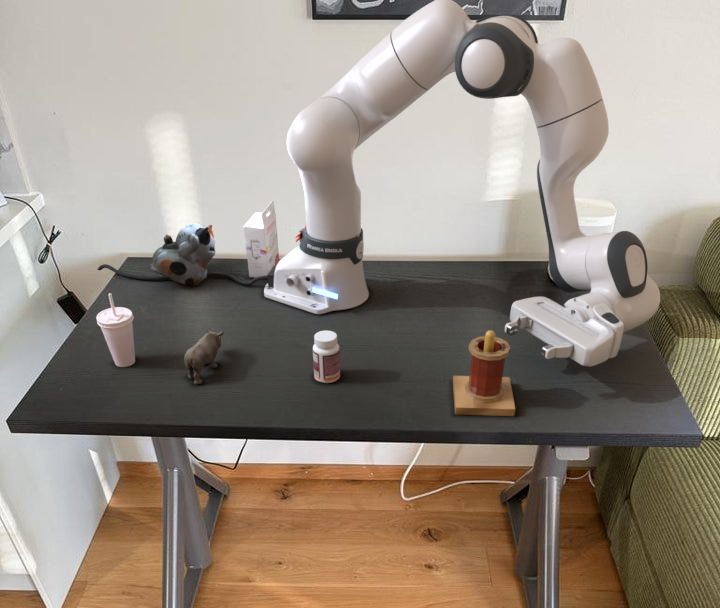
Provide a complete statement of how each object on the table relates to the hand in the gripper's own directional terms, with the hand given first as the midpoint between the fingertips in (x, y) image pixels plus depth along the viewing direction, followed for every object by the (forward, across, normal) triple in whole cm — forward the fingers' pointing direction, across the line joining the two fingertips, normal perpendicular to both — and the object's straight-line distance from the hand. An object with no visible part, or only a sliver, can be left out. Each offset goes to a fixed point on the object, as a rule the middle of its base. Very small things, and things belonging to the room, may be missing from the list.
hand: (525, 341), depth 130 cm
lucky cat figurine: (+33, -74, +9) cm, 82 cm away
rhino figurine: (+44, -36, +9) cm, 58 cm away
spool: (+8, 0, +7) cm, 11 cm away
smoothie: (+57, -45, +9) cm, 73 cm away
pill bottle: (+28, -21, +9) cm, 36 cm away
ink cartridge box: (+17, -67, +9) cm, 70 cm away
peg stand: (+8, 0, +9) cm, 12 cm away
